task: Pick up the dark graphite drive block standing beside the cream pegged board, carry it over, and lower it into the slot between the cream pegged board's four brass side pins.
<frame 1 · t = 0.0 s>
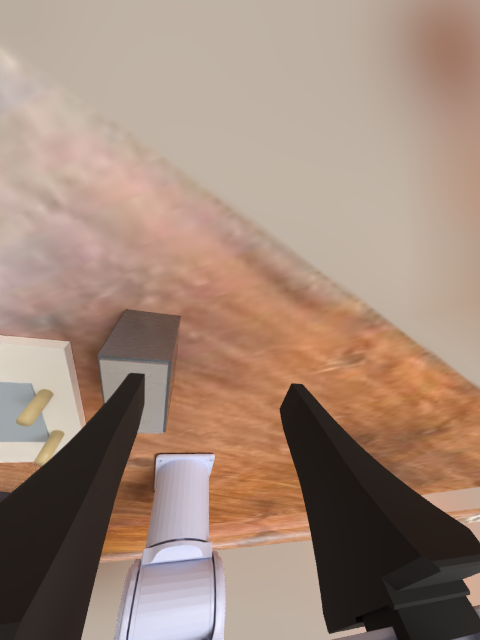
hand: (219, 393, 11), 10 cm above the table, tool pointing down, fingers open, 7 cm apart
drive: (153, 348, 21), on the table
cream pegged board: (17, 405, 23), on the table
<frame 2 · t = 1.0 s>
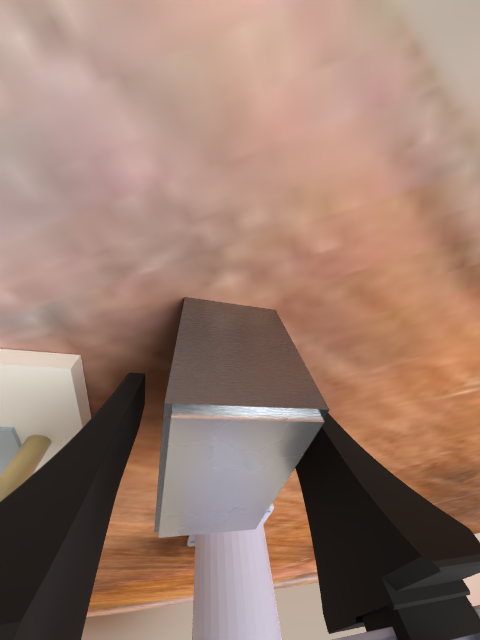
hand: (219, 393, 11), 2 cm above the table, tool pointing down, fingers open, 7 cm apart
drive: (218, 364, 13), on the table
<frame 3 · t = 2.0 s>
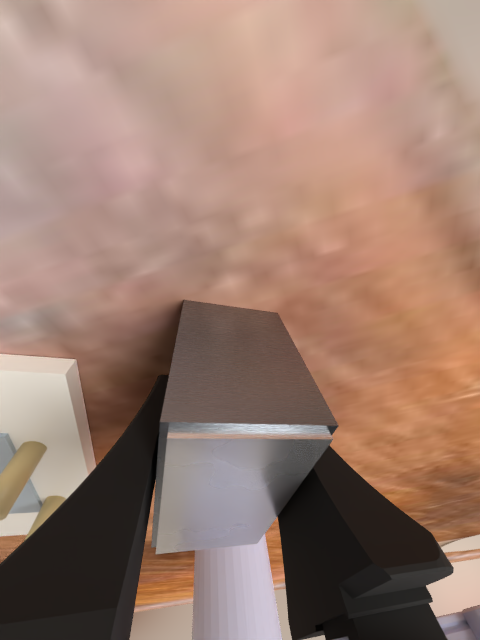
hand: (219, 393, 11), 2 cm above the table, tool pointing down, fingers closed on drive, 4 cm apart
drive: (218, 369, 12), on the table, touching gripper
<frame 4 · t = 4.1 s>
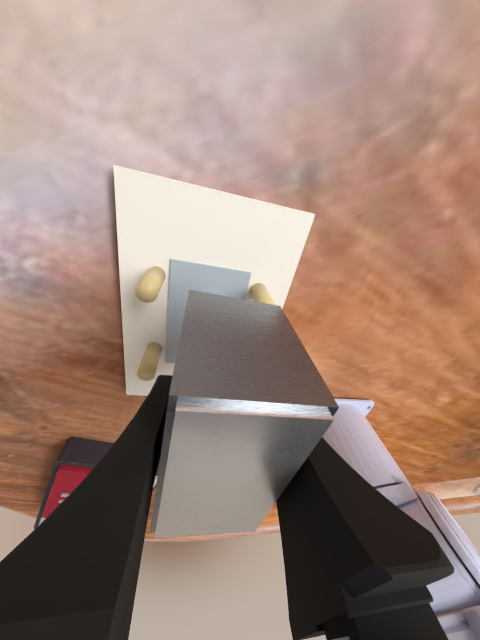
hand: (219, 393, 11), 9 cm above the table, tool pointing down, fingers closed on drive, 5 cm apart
drive: (219, 361, 13), point 7 cm above the table, touching gripper
cream pegged board: (204, 314, 18), on the table
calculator: (107, 471, 30), on the table
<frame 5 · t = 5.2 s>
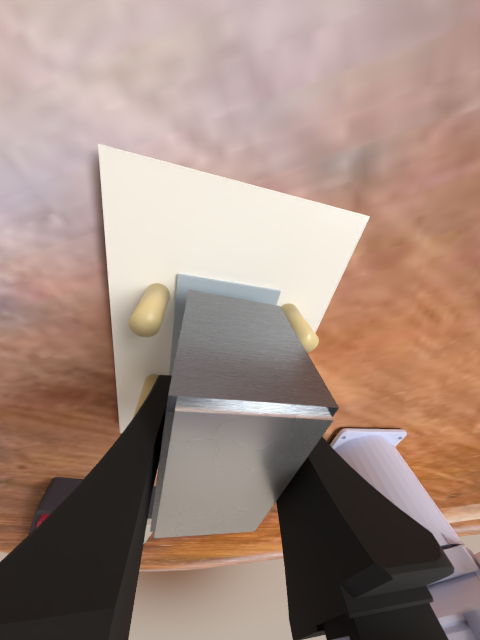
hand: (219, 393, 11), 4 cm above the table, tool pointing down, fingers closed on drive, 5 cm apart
drive: (219, 361, 13), point 2 cm above the table, touching gripper
cream pegged board: (216, 339, 15), on the table
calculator: (101, 507, 26), on the table
when the fingers open (4 cm above the table, at t = 6.1 s): drive drops 1 cm, resting on cream pegged board.
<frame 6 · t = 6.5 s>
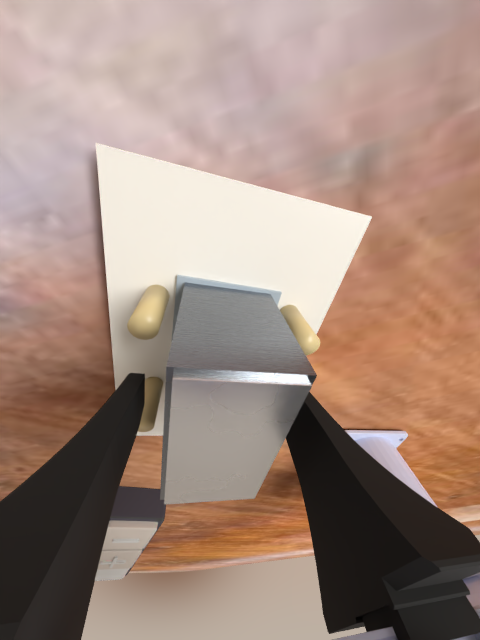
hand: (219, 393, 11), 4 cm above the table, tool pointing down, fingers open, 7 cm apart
drive: (217, 348, 14), point 1 cm above the table, touching cream pegged board
cream pegged board: (216, 340, 15), on the table
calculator: (102, 510, 26), on the table
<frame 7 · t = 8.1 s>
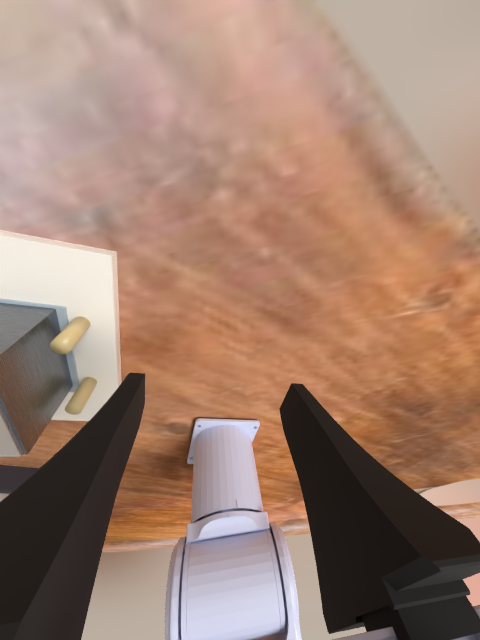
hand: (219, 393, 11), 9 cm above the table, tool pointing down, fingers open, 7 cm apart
drive: (32, 349, 18), point 1 cm above the table, touching cream pegged board
cream pegged board: (43, 342, 19), on the table
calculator: (10, 489, 30), on the table
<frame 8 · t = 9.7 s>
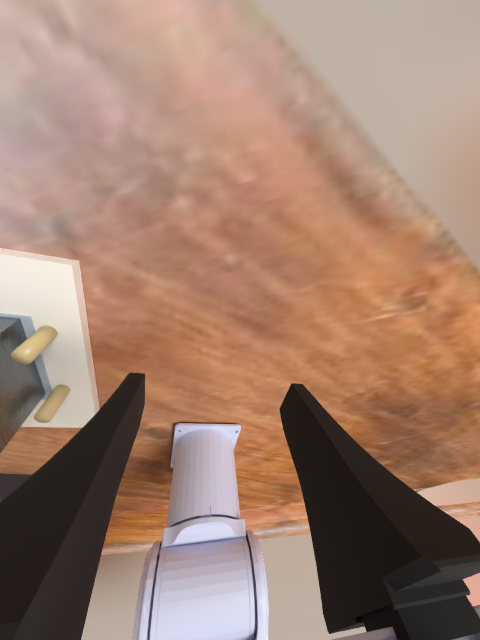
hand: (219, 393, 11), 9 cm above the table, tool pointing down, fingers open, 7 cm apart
drive: (1, 358, 18), point 1 cm above the table, touching cream pegged board
cream pegged board: (13, 351, 19), on the table
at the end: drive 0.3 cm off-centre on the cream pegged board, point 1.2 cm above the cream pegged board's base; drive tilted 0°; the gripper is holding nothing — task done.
